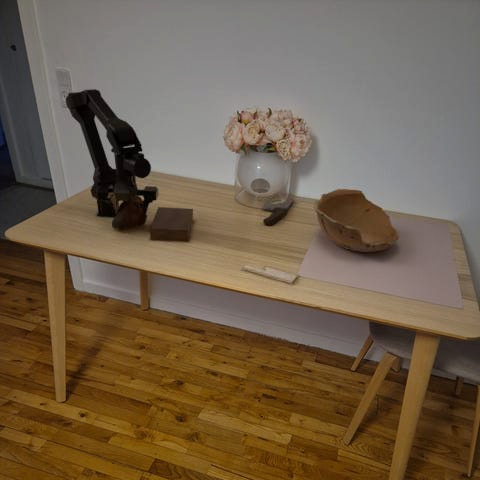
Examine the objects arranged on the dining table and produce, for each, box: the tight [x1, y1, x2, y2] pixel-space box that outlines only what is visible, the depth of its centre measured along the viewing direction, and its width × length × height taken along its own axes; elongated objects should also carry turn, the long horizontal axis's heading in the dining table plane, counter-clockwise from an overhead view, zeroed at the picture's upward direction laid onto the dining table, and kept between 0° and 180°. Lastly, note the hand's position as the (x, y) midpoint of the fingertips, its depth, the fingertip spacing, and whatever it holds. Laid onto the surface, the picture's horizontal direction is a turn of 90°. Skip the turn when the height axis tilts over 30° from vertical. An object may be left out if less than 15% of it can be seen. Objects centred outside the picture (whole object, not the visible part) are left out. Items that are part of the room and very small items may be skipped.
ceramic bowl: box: [313, 188, 400, 253], centre depth 143 cm, size 30×27×15 cm
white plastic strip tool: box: [243, 264, 299, 284], centre depth 125 cm, size 5×15×1 cm, turn 63°
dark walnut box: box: [149, 206, 194, 243], centre depth 145 cm, size 12×18×4 cm, turn 0°
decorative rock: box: [111, 196, 148, 231], centre depth 142 cm, size 12×6×11 cm, turn 130°
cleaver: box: [261, 197, 295, 226], centre depth 164 cm, size 30×10×2 cm, turn 162°
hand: (130, 217), depth 143 cm, fingers closed on decorative rock, 9 cm apart
